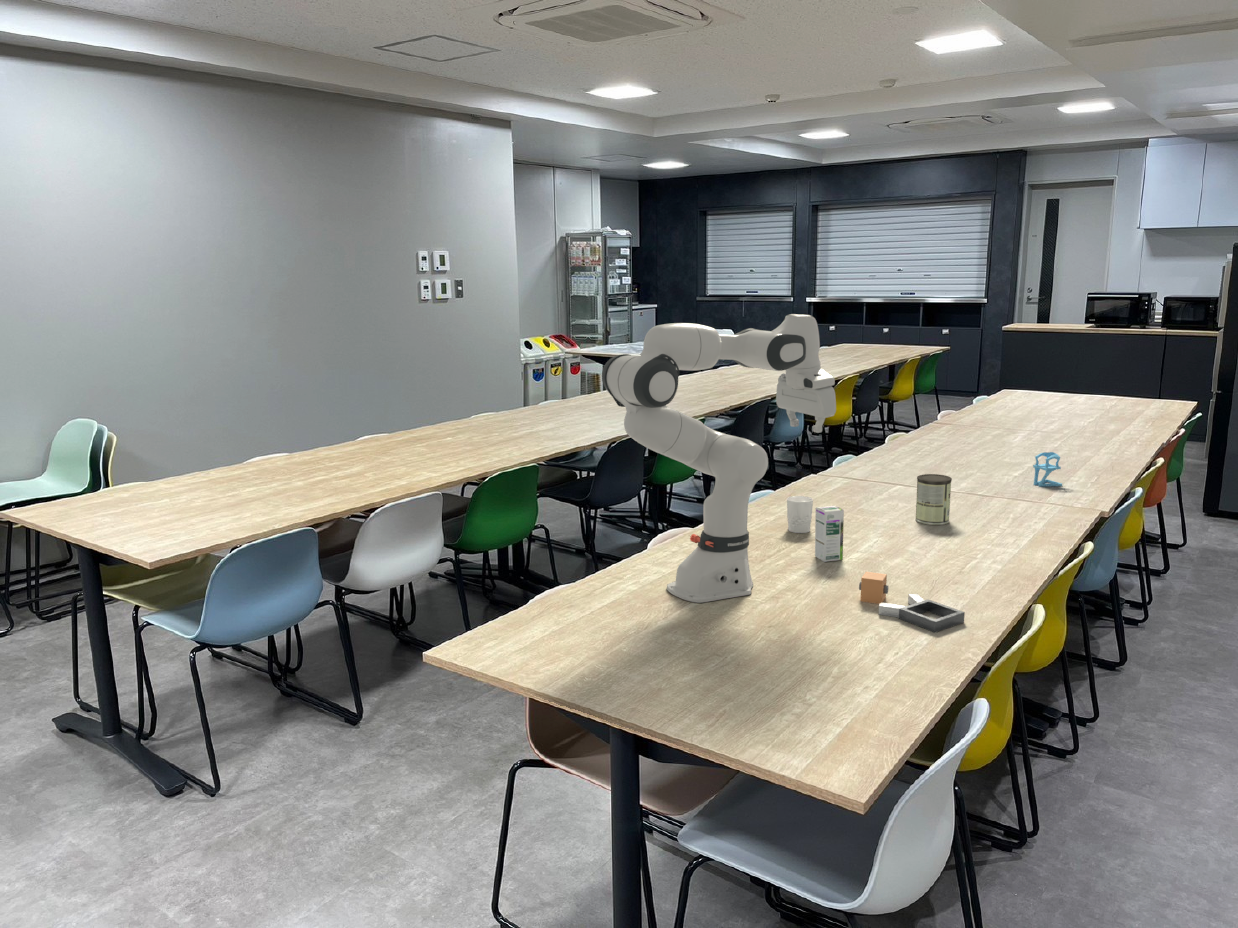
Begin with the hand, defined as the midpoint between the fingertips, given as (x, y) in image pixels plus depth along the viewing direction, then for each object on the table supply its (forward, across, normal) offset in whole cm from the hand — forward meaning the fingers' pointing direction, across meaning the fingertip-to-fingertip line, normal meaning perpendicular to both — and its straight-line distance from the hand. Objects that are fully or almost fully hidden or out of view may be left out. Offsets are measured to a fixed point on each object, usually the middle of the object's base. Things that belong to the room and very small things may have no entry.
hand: (806, 429), depth 235 cm
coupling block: (+37, +28, -4) cm, 47 cm away
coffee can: (+45, -16, +60) cm, 77 cm away
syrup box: (+39, -3, +8) cm, 40 cm away
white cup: (+41, -29, +18) cm, 53 cm away
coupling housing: (+37, +42, -2) cm, 56 cm away
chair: (+53, -30, +131) cm, 144 cm away
